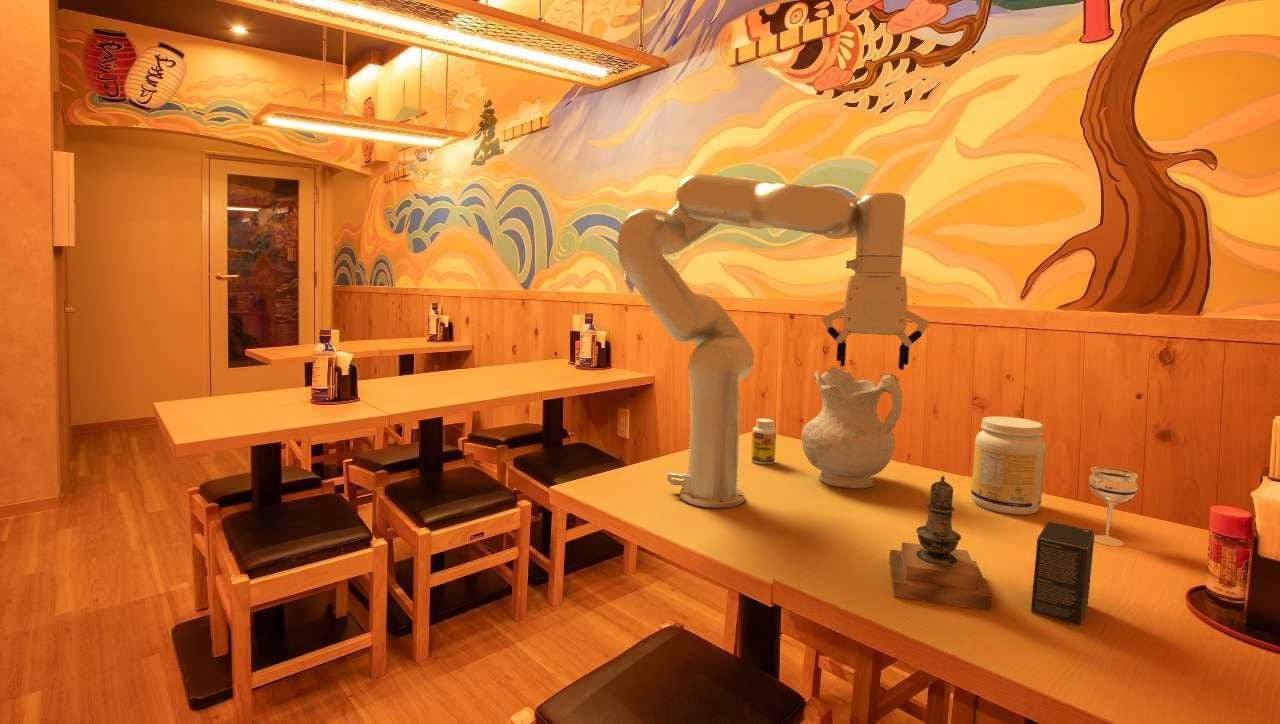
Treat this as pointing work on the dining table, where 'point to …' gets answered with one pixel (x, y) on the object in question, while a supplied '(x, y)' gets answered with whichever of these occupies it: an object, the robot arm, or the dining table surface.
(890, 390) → the ceramic pitcher
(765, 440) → the supplement bottle
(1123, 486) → the wineglass
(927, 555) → the salt shaker
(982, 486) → the supplement tub
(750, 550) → the dining table surface
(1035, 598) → the box
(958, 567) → the plinth
